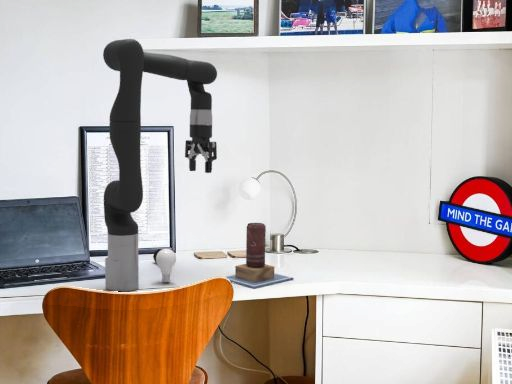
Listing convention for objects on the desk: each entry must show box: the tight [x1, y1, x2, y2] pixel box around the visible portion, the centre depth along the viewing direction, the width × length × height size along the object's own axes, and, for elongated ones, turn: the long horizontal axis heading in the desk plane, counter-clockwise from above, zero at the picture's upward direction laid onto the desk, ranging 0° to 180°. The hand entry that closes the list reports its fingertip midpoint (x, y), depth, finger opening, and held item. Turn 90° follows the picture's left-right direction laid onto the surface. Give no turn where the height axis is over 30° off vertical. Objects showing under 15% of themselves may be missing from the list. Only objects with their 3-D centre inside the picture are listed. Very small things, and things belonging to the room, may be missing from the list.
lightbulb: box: [155, 248, 177, 284], centre depth 214 cm, size 6×6×11 cm
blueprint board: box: [224, 272, 294, 290], centre depth 220 cm, size 18×16×1 cm
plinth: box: [234, 263, 275, 283], centre depth 219 cm, size 9×9×4 cm
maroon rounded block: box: [245, 222, 267, 268], centre depth 218 cm, size 6×6×14 cm
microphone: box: [152, 248, 163, 264], centre depth 235 cm, size 6×6×20 cm
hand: (200, 171), depth 225 cm, fingers open, 8 cm apart
